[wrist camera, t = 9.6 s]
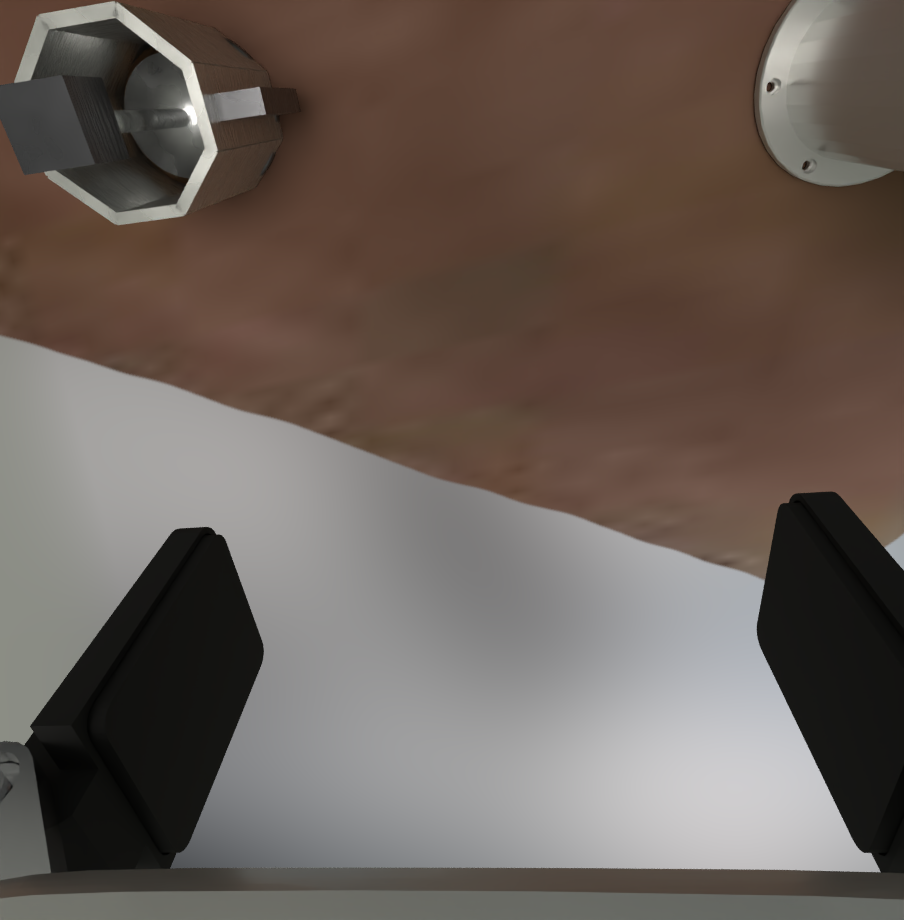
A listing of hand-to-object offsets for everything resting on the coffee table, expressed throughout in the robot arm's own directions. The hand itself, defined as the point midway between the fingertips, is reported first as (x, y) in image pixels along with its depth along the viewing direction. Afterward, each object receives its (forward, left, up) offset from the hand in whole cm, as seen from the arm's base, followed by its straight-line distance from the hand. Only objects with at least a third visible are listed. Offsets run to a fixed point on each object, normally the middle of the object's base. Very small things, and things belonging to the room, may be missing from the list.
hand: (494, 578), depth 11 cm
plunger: (+17, -8, -34) cm, 39 cm away
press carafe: (+16, -8, -38) cm, 42 cm away
